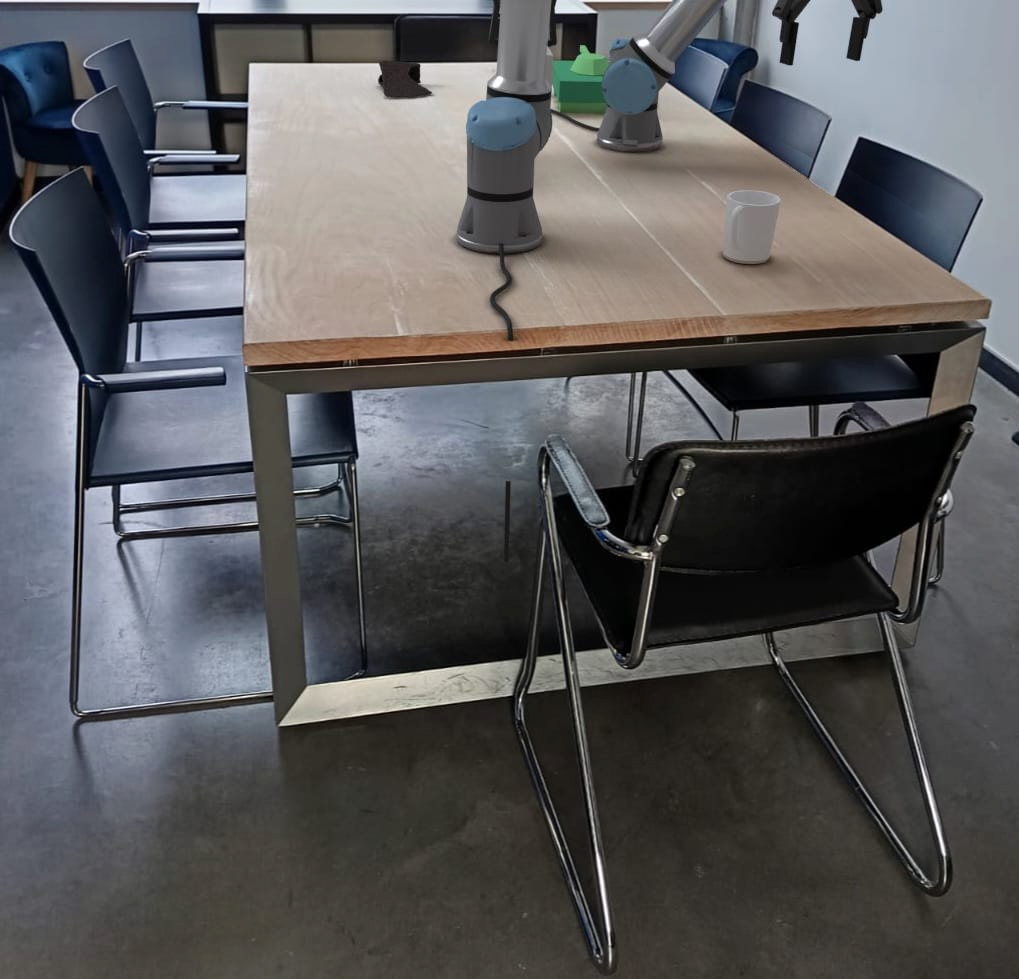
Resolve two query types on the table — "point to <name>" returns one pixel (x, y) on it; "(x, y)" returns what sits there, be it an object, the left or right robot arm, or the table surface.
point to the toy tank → (580, 83)
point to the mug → (750, 226)
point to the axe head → (401, 79)
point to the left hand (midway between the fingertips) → (819, 62)
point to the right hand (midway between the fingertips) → (521, 78)
